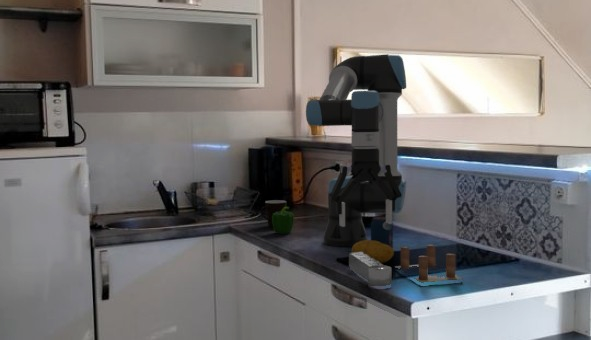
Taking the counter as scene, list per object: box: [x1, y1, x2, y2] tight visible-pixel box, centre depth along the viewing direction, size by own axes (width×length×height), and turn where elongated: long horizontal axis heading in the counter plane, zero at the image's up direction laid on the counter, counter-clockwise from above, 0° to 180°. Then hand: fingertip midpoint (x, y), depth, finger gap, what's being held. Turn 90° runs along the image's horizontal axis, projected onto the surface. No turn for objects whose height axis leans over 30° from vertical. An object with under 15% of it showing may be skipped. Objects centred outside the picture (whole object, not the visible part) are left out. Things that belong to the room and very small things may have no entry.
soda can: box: [370, 215, 394, 250], centre depth 205 cm, size 7×7×12 cm
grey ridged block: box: [348, 252, 393, 286], centre depth 176 cm, size 22×6×5 cm, turn 14°
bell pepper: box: [272, 206, 295, 235], centre depth 244 cm, size 8×8×10 cm
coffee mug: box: [260, 199, 287, 229], centre depth 259 cm, size 12×9×10 cm
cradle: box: [394, 244, 463, 283], centre depth 177 cm, size 18×12×7 cm, turn 14°
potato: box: [351, 239, 395, 264], centre depth 194 cm, size 8×14×7 cm, turn 43°
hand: (365, 224), depth 177 cm, fingers open, 13 cm apart
